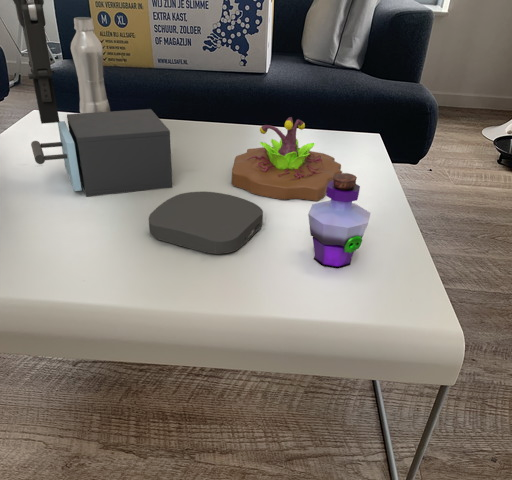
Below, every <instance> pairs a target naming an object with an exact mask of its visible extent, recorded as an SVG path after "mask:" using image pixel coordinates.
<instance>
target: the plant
mask: <svg viewBox="0 0 512 480" xmlns="http://www.w3.org/2000/svg"><path fill="white" fill-rule="evenodd" d="M305 127H306V125H305V122H304V121H303V120H301V119H300V118H298V119H296V120H295V121H294V120H293V117H292V116H290V117H288V118H287V119H286V120H285V122H284V128H285V130H287V131H286V132H287V133H286V134H284V133H283V132H282V130H280V129H279V128H278V127H276V126H274V125H269V124H264V125H261V127H259V132H260V134H262V135H265V134H267V132H268V130H272V131H273V132H275V133H276V134H277V135H278V137H279V138H280V140H279V141H277V140H276V139H273V138H271V139H270V143H271V145H270V144H269V143H267V142H262V141H259V144H260V146H262V147H256V148H247V149H246V152H243V153H241V154H238V155H236V156H235V157H234V161H233V165H232V169H231V186H233V187H236V188H239V189H242V190H245V191H247V192H248V193H251V194H254V195H256V196H261V197H266V198H271V199H275V200H276V199H277V200H282V201H283V200H284V201H285V200H286V201H287V200H295V199H297V200H304V201H305V200H306V201H314V202H318V201H319V200H321V199H324V197H326V193H327V186H328V184H329V182H331V181H333V176H334V175H336V174H339V173H343V170H341V169H342V164H341V163H340V162H337V161H336V160H335V157H334V156H331V155H329V154H326V153H323V152H317V151H312V149H313V147H315V144H316V143H315V142H308V143H306V144H304V145H302V146H301V147H299V140H298V138H297V129H299V130H301V131H302V130H304V129H305Z"/></svg>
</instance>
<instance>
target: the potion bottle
mask: <svg viewBox="0 0 512 480" xmlns="http://www.w3.org/2000/svg"><path fill="white" fill-rule="evenodd" d="M360 190H361V185H359V184H357V176H356V175H354V174H352V173H348V172H342V173H339V174H336V175H334V176H333V181H331V182H329V184H328V186H327V193H326V194H325V197H327V198H328V199H329V200H324V201H321V202H315V203H312V204H311V206H310V209H309V211H308V214H307V216H308V224H309V235H310V236H311V237H312V244H313V253H314V256H313V260H314V261H315V262H316V263H318V264H319V265H320V266H321V267H325V268H330V269H338V270H339V269H342V268H346V267H349V266H351V264H352V260H353V257H354V253H355V252H356V251H357V250H359V249H360V247H361V244H363V243H362V242H363V237H364V234H365V232H366V229H367V227H368V225H369V222H370V217H371V212H370V211H368V210H367V209H365V208H364V207H361V206H360V205H358V204H357V203H355V202H356V201H358V198H359V195H360Z"/></svg>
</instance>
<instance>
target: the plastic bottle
mask: <svg viewBox="0 0 512 480" xmlns="http://www.w3.org/2000/svg"><path fill="white" fill-rule="evenodd" d="M73 24H74V27H73V28H74V30H75V34H74V36H73V38H72V40H71V42H70V52H71V55H72V61H73V64H74V66H75V72H76V76H77V81H78V92H79V105H78V106H79V114H80V113H96V112H111V107H110V103H109V100H108V96H107V91H106V85H105V78H104V47H103V45H102V42H101V41H100V39H99V38H98V36H97V35H96V34H95V32H94V30H95V26H94V21H93V18H92V17H89V16H87V17H86V16H77V17H74V18H73Z"/></svg>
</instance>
